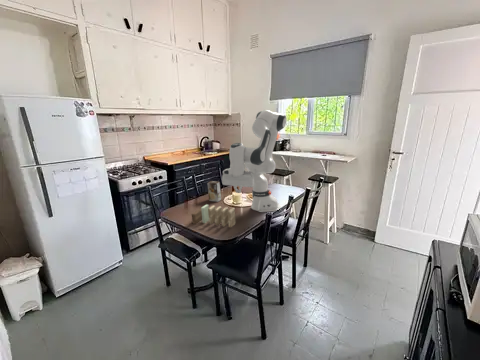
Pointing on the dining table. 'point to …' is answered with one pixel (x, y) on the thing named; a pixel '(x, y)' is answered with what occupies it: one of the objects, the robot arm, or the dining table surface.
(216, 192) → the coffee box
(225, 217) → the maple domino
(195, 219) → the end stop
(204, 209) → the sage domino
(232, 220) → the maple domino
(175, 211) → the dining table surface
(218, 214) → the maple domino
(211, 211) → the maple domino
